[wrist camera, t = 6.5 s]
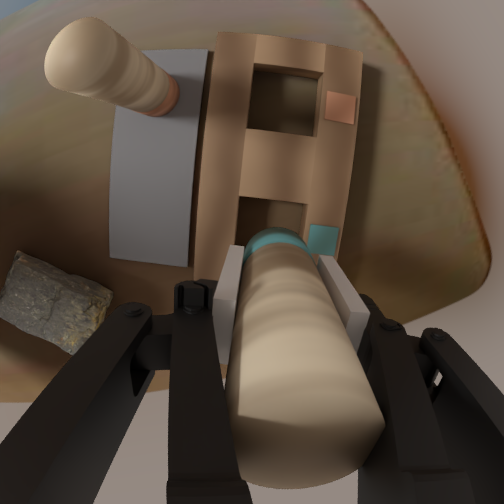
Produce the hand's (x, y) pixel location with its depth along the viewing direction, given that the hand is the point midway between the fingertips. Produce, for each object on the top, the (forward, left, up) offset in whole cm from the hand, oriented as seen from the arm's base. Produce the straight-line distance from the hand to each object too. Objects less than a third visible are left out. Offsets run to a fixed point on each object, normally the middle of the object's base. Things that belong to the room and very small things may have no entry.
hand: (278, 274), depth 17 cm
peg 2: (0, 0, -3) cm, 3 cm away
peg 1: (-11, +11, -11) cm, 19 cm away
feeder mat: (-11, +5, -12) cm, 17 cm away
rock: (-22, -9, -12) cm, 27 cm away
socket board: (0, +5, -12) cm, 13 cm away
